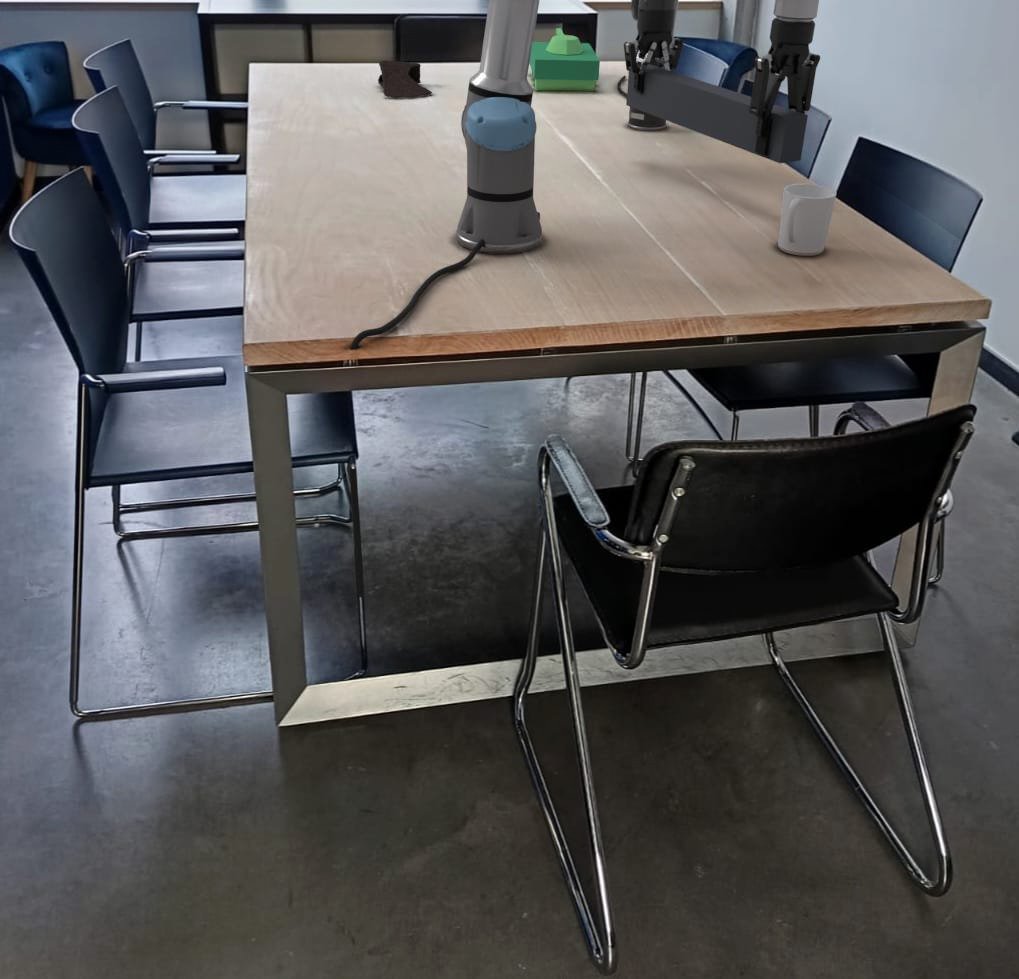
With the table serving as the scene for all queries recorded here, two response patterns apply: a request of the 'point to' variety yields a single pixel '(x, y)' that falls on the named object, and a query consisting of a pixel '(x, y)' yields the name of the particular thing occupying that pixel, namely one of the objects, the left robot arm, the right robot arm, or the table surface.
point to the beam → (716, 113)
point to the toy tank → (564, 64)
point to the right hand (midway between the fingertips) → (649, 91)
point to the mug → (805, 218)
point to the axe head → (401, 79)
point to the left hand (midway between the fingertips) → (773, 151)
